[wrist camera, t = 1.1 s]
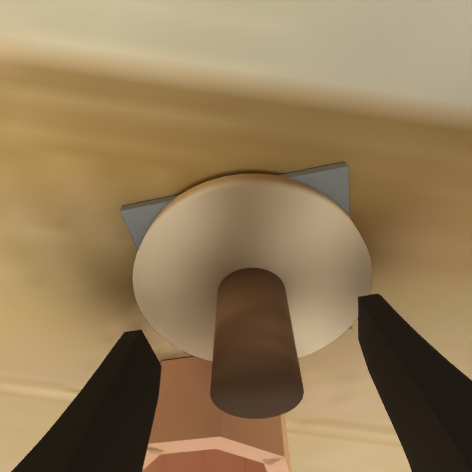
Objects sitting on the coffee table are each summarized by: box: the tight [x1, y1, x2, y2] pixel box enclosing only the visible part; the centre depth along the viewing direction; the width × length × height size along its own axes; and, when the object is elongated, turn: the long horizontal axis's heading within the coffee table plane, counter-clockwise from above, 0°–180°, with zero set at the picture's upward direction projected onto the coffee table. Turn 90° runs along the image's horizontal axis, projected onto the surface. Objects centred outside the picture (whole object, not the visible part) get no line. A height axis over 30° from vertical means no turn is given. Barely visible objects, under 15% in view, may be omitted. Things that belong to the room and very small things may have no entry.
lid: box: [132, 173, 372, 419], centre depth 11 cm, size 9×9×5 cm
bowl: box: [142, 356, 292, 472], centre depth 17 cm, size 8×8×4 cm
